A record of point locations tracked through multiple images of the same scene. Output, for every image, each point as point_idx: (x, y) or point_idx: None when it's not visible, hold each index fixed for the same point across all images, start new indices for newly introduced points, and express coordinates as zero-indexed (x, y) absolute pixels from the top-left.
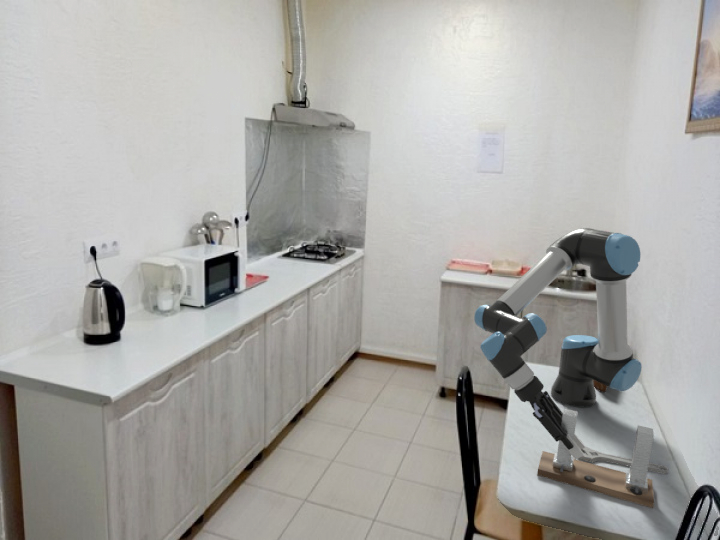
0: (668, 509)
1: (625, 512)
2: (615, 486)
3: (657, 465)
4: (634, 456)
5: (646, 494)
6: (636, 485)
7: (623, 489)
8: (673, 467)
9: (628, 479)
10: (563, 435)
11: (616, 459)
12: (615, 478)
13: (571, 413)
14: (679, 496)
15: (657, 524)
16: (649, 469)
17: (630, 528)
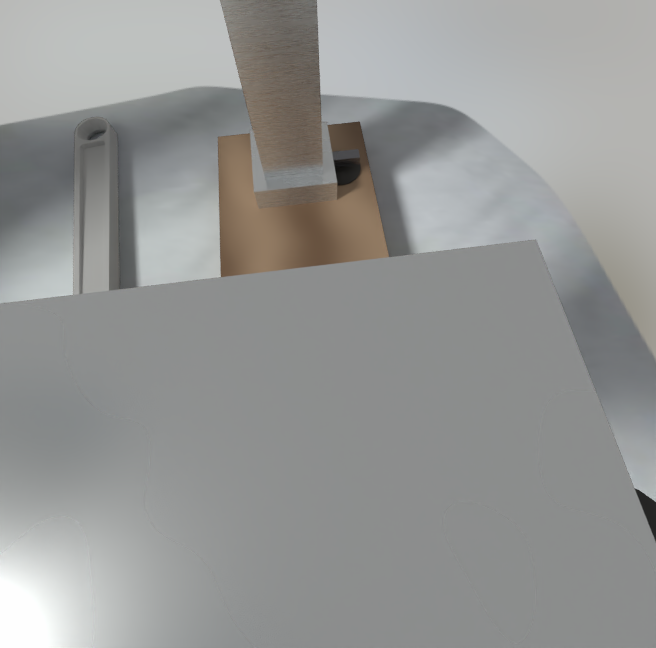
0: (333, 114)
1: (445, 204)
2: (353, 228)
3: (82, 143)
4: (316, 33)
5: (335, 141)
6: (331, 153)
7: (355, 203)
8: (59, 118)
9: (306, 178)
10: (643, 503)
11: (104, 262)
12: (291, 236)
13: (348, 523)
14: (239, 97)
15: (437, 130)
16: (115, 168)
17: (521, 183)
